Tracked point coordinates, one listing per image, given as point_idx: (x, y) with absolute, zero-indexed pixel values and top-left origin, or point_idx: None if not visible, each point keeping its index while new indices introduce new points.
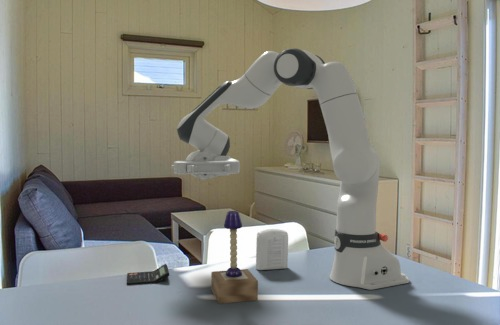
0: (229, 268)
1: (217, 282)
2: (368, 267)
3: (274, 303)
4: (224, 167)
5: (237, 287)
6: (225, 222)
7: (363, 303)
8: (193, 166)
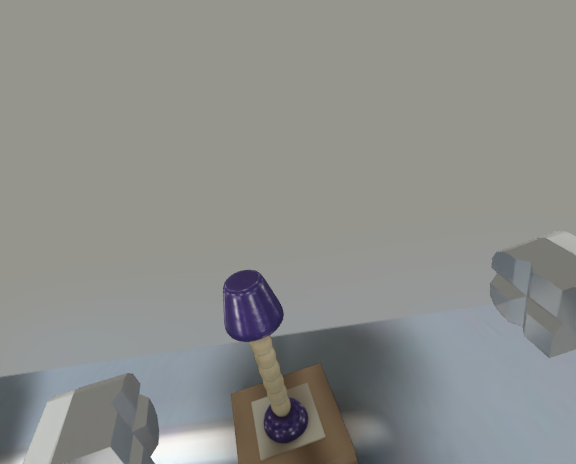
0: (294, 408)
1: (325, 376)
2: None
3: (212, 409)
4: (136, 385)
5: None
6: (275, 296)
7: None
8: (544, 236)
